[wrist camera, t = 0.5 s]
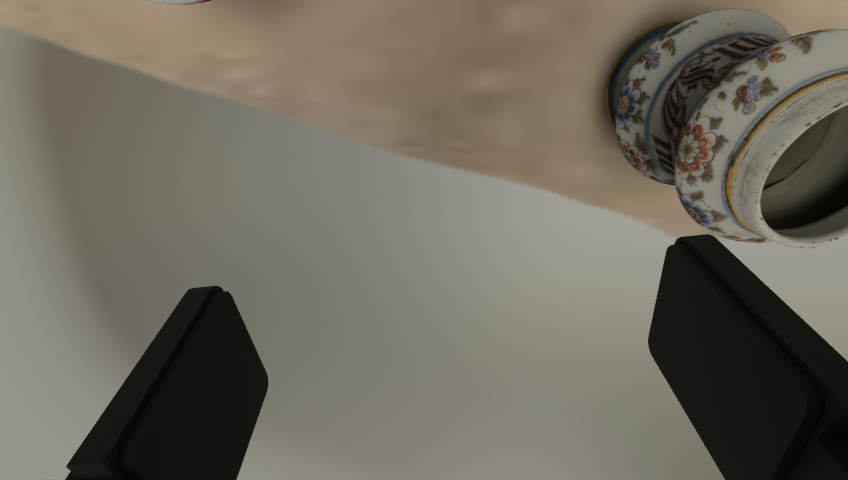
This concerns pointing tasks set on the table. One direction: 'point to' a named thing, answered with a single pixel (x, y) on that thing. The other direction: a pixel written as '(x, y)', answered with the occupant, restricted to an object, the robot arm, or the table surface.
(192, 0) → the canned food
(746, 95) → the apothecary jar
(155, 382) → the robot arm
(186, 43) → the table surface
